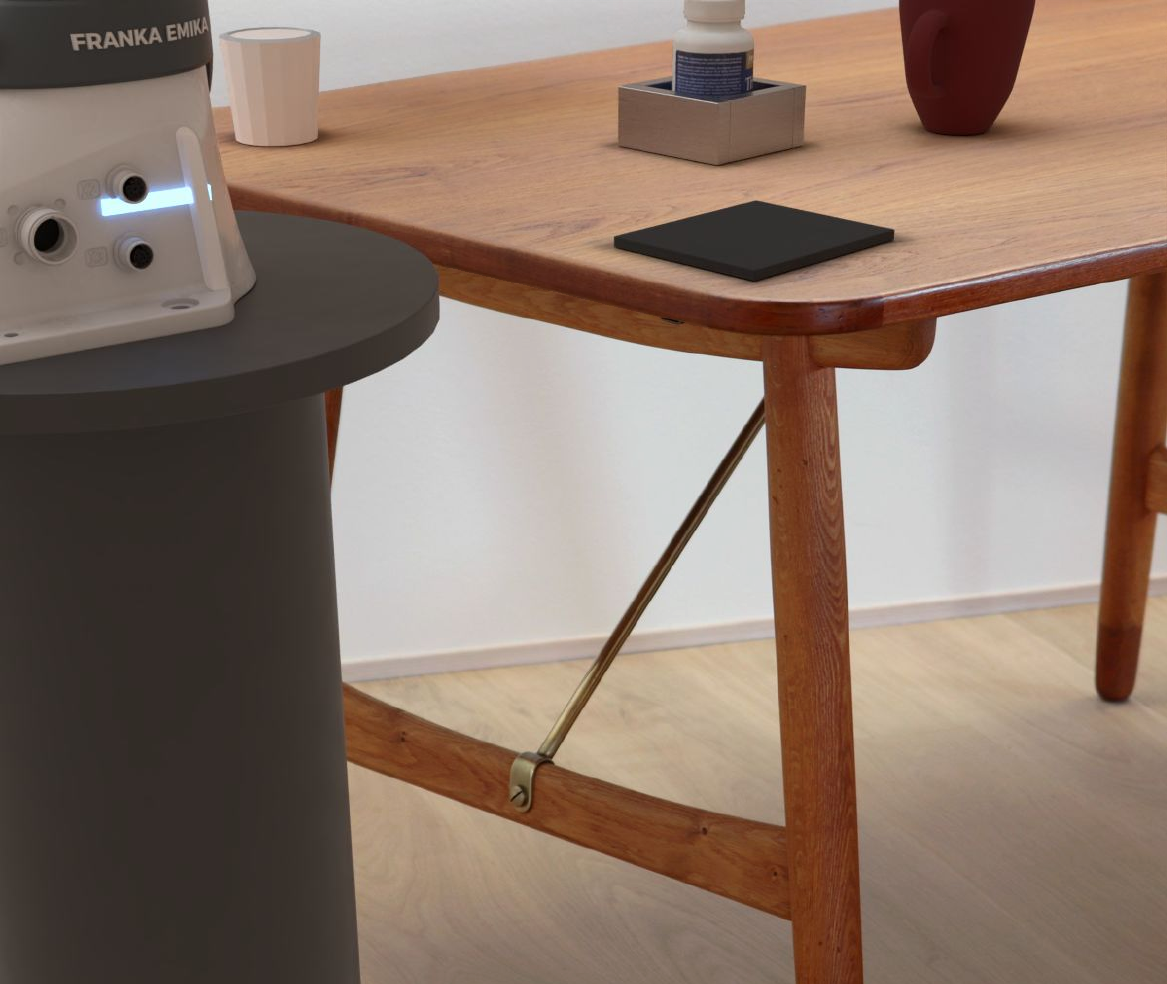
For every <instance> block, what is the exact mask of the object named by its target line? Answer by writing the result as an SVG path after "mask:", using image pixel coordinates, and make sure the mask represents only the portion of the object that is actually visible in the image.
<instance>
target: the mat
mask: <svg viewBox="0 0 1167 984" xmlns="http://www.w3.org/2000/svg"><path fill="white" fill-rule="evenodd" d="M895 230H896V229H893V228H889V227H886V226H885V227H884V226H881V225H875V224H870V223H865V222H860V221H857V220H852V219H846V218H843V217H842V218H841V217H837V216H833V215H828V214H823V213H818V212H814V211H809V210H805V209H800V208H799V209H798V208H794V207H791V206H786V205H785V206H784V205H781V204H776V203H771V202H766V201H761V200H755V199H754V200H751V201H747V202H744V203H743V202H742V203H740V204H739V203H738V204H735V205H731V206H728V207H724V208H720V209H715V210H712V211H708V212H705V213H700V214H696V215H693V216H688V217H685V218H681V219H677V220H673V221H669V222H664V223H662V224H657V225H654V226H653V225H652V226H650V227H646V228H642V229H641V228H640V229H638V230H634V231H630V232H626V233H621V234H618V235H614V236H613V247H615V248H617V249H622V250H625V251H630V252H635V253H638V254H642V255H647V256H651V257H655V258H658V259H662V260H667V261H670V262H675V263H678V264H682V265H686V266H691V267H694V268H698V269H703V270H707V271H710V272H714V273H719V274H723V275H727V276H731V277H736V278H738V279H744V280H747V281H751V282H756V281H760V280H763V279H766V278H770V277H773V276H777V275H780V274H783V273H786V272H790V271H793V270H797V269H800V268H803V267H807V266H811V265H814V264H816V263H820V262H824V261H827V260H831V259H833V258H837V257H840V256H844V255H847V254H850V253H853V252H857V251H861V250H864V249H867V248H870V247H873V246H877V245H880V244H883V243H888V242H890V241H894V239H895Z"/></svg>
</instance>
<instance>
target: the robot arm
mask: <svg viewBox="0 0 1167 984" xmlns="http://www.w3.org/2000/svg"><path fill="white" fill-rule="evenodd" d="M211 25H212V24H211V16H210V9H209V0H0V365H5V364H11V363H17V362H22V361H28V360H34V359H39V358H45V357H50V356H56V355H62V354H67V353H73V352H79V351H84V350H90V349H95V348H101V347H107V346H112V345H118V344H124V343H129V342H135V341H141V340H146V339H152V338H157V337H163V336H169V335H174V334H180V333H186V332H191V331H197V330H202V329H208V328H214V327H219V326H222V325H226V324H228V323H230V322H231V321H232V320H233V319H234V317H235V309H234V304H235V302H236V301H237V300H238V299H239V298H241V297H242V296H243V295H244V294H246V293H247V292H248V291H249V290H250V289H251V288H252V287H253V286H254V284H255V282H256V274H255V271H254V269H253V266H252V264H251V262H250V259H249V257H248V254H247V251H246V248H245V246H244V243H243V240H242V237H241V234H240V231H239V228H238V224H237V221H236V218H235V214H234V211H233V210H234V208H233V207H234V206H233V204H232V199H231V195H230V191H229V188H228V183H227V179H226V175H225V170H224V165H223V161H222V156H221V152H220V147H219V141H218V136H217V131H216V126H215V125H216V124H215V120H214V113H213V107H212V101H211V93H212V92H211V91H212V83H213V72H214V47H213V36H212V26H211Z"/></svg>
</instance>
